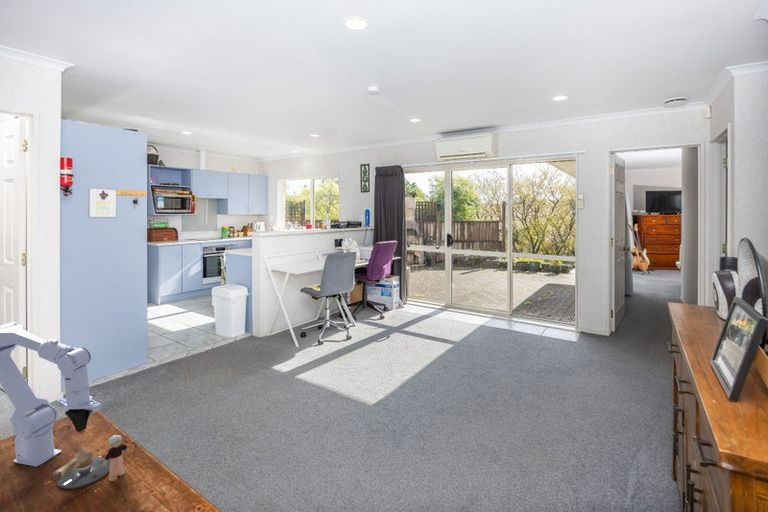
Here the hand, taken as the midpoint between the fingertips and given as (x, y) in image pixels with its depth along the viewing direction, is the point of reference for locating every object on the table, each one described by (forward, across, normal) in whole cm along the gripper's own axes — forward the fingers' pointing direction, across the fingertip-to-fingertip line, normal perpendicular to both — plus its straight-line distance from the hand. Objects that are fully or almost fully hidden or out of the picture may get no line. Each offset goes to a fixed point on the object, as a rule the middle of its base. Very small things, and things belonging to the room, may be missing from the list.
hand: (81, 430), depth 126 cm
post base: (+10, -6, +5) cm, 13 cm away
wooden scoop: (+7, -6, +8) cm, 12 cm away
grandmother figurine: (+11, -16, +3) cm, 19 cm away
